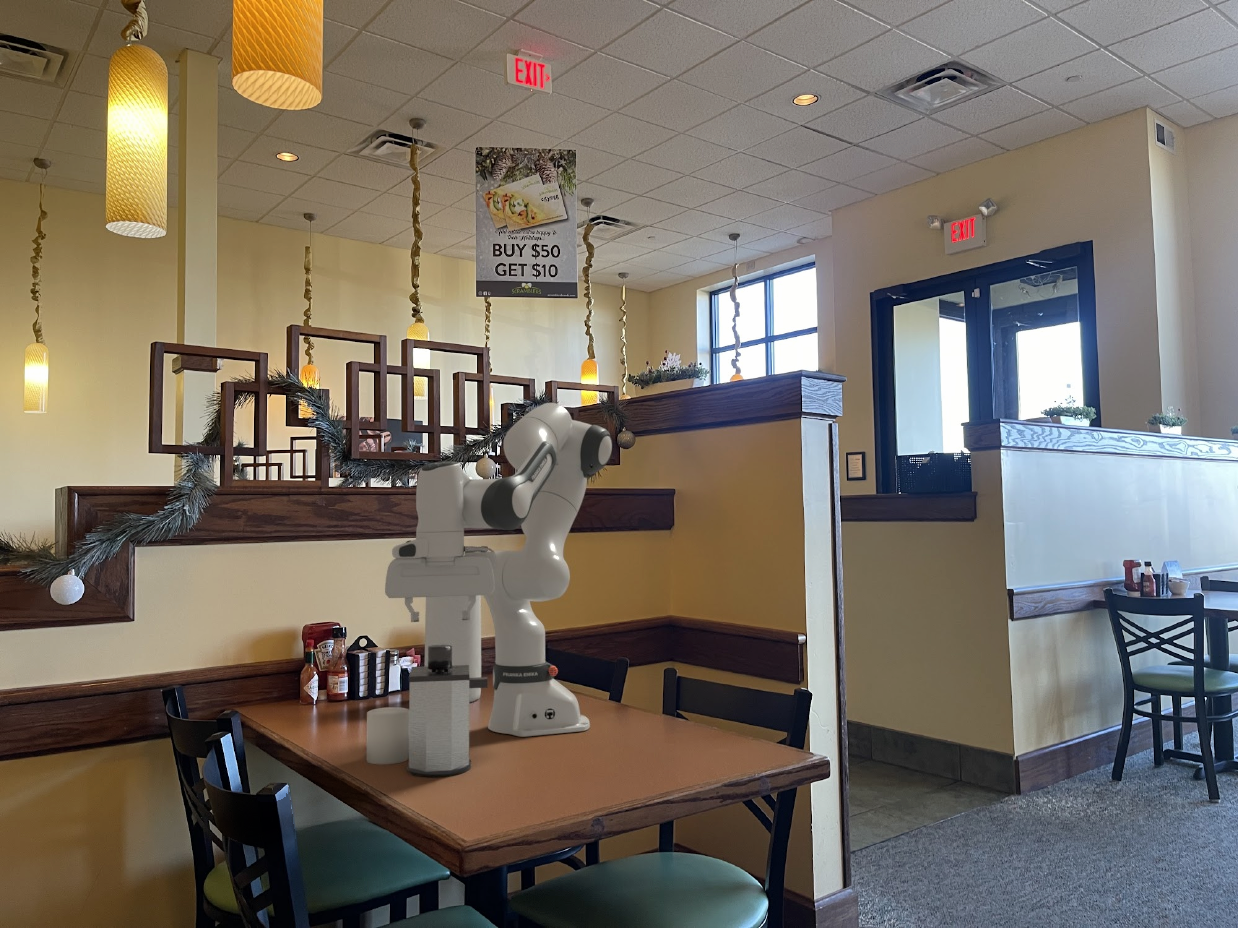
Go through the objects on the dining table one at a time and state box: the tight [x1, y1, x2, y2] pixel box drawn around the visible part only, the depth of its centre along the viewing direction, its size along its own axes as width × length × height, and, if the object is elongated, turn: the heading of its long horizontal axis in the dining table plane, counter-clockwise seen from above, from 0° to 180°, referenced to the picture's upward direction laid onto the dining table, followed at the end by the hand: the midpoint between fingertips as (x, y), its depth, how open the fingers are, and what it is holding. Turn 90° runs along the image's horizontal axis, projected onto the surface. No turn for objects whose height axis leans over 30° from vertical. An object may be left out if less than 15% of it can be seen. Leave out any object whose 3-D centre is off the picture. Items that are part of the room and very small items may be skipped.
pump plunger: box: [428, 645, 452, 672], centre depth 168 cm, size 4×4×21 cm
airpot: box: [406, 665, 489, 778], centre depth 168 cm, size 15×12×18 cm
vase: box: [424, 595, 482, 703], centre depth 232 cm, size 14×14×32 cm
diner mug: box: [365, 706, 409, 765], centre depth 177 cm, size 8×11×9 cm
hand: (440, 620), depth 169 cm, fingers open, 8 cm apart
